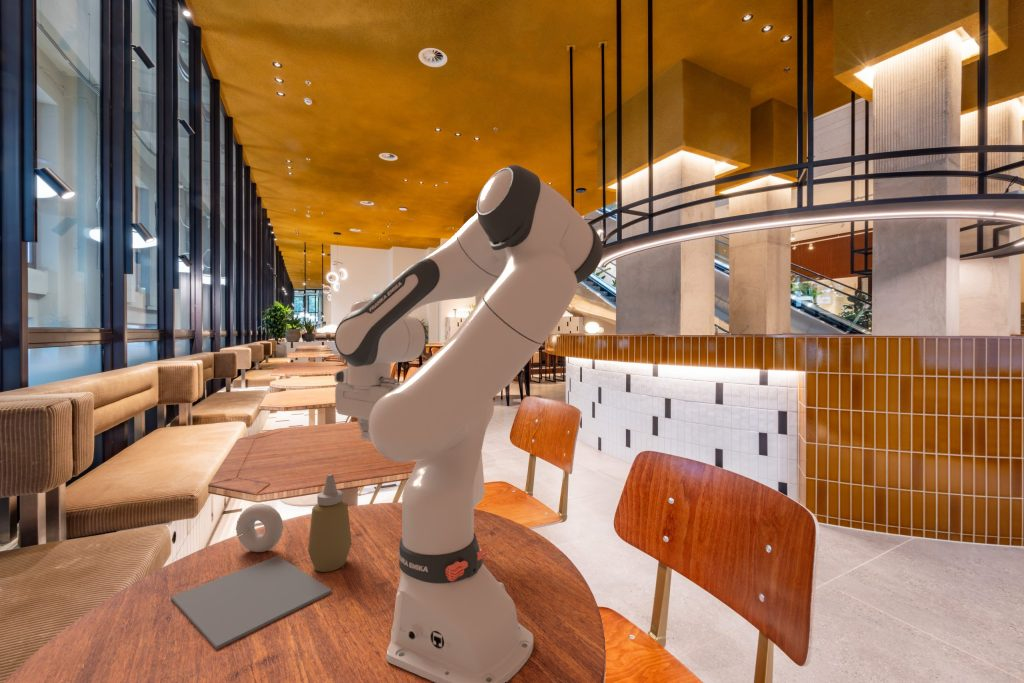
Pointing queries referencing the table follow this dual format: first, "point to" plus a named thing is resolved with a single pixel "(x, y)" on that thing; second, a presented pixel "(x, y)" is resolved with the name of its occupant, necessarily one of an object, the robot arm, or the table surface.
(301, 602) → the mat
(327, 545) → the squeeze bottle
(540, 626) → the table surface
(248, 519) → the donut
